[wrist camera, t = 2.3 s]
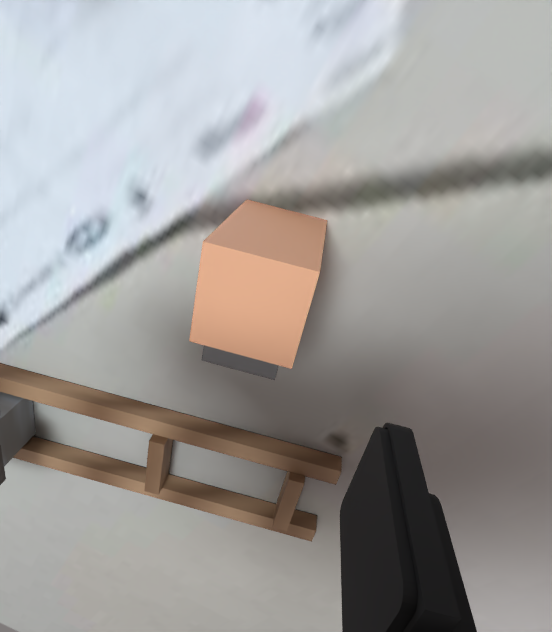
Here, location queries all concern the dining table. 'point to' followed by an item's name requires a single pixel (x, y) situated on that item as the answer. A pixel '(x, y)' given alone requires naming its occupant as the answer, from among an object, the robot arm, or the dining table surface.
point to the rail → (159, 451)
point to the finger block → (257, 287)
